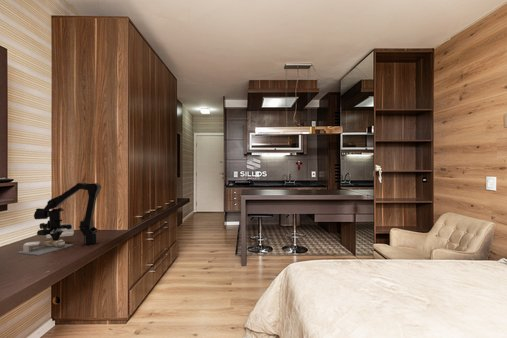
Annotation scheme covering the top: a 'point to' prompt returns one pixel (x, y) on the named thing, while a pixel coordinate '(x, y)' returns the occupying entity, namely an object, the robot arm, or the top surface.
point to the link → (54, 243)
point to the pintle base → (40, 248)
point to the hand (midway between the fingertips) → (55, 242)
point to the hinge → (66, 232)
